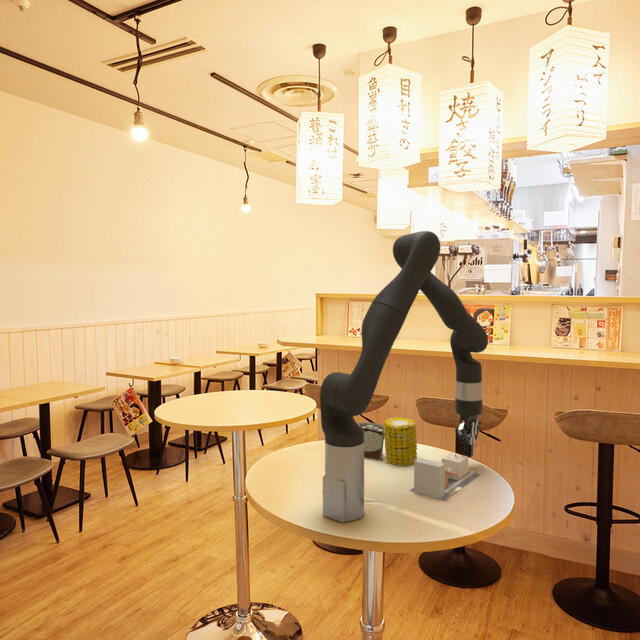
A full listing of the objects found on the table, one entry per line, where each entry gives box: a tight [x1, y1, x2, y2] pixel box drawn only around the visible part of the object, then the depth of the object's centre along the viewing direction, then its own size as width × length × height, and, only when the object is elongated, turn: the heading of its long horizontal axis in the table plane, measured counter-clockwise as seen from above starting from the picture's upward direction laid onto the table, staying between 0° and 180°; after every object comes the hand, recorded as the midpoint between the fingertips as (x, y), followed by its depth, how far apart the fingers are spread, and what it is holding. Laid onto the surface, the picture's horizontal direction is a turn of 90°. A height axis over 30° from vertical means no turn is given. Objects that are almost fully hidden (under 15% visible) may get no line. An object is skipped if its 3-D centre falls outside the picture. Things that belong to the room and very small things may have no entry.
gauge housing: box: [441, 452, 469, 481], centre depth 134 cm, size 9×5×5 cm, turn 140°
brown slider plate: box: [445, 468, 457, 489], centre depth 126 cm, size 1×7×5 cm, turn 50°
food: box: [383, 416, 418, 467], centre depth 147 cm, size 15×12×10 cm
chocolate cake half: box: [356, 422, 385, 462], centre depth 156 cm, size 12×6×10 cm, turn 58°
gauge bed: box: [408, 457, 481, 502], centre depth 130 cm, size 22×10×10 cm, turn 140°
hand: (468, 456), depth 141 cm, fingers closed
